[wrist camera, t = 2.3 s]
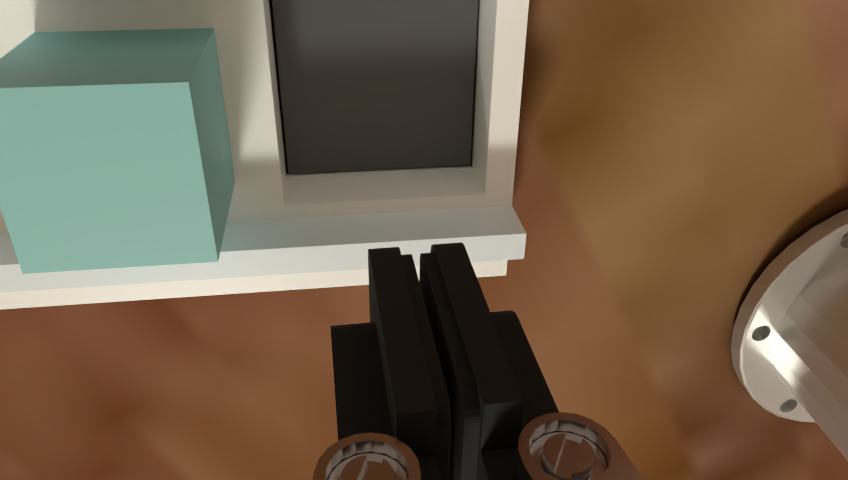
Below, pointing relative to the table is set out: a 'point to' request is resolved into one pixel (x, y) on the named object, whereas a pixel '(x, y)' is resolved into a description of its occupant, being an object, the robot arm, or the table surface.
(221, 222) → the block
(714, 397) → the table surface
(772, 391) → the robot arm
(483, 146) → the deck
